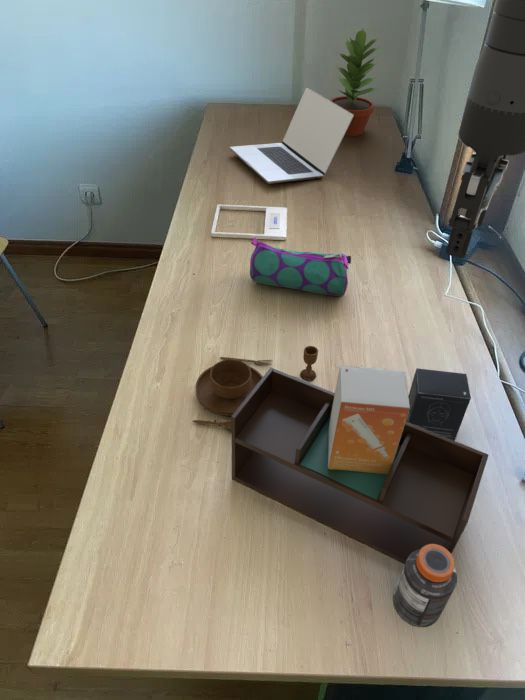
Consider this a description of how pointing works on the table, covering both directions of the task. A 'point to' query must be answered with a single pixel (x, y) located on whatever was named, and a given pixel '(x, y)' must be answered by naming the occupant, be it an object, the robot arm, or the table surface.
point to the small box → (367, 419)
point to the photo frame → (273, 222)
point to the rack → (352, 486)
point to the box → (438, 401)
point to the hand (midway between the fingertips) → (464, 238)
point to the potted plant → (356, 84)
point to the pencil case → (299, 269)
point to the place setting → (237, 383)
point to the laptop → (301, 142)
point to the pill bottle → (425, 585)
